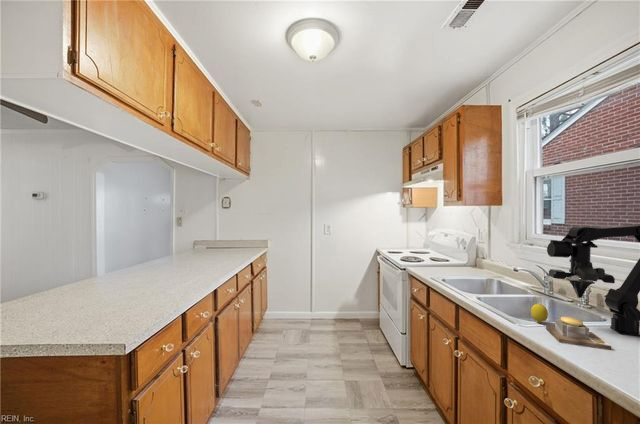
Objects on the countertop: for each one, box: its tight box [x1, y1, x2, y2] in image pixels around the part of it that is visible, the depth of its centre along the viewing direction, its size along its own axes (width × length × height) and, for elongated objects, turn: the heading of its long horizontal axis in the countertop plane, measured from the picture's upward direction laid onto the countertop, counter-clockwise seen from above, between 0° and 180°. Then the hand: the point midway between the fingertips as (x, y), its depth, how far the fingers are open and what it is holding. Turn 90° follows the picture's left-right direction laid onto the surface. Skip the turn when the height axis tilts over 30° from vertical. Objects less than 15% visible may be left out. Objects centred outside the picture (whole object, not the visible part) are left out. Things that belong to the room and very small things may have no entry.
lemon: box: [530, 302, 549, 324], centre depth 116 cm, size 6×6×8 cm
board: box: [545, 318, 612, 351], centre depth 102 cm, size 14×12×5 cm
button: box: [560, 316, 584, 327], centre depth 103 cm, size 6×6×5 cm
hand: (579, 297), depth 112 cm, fingers closed
